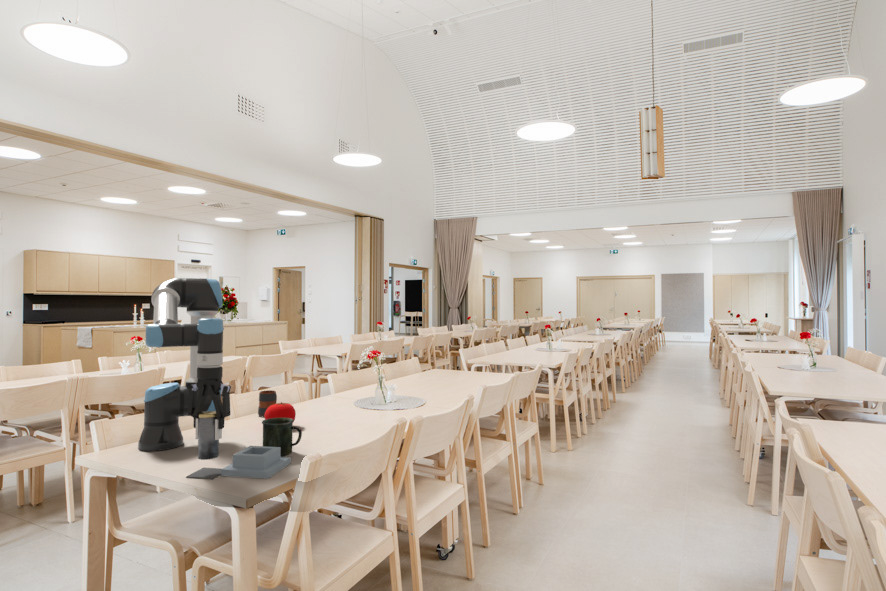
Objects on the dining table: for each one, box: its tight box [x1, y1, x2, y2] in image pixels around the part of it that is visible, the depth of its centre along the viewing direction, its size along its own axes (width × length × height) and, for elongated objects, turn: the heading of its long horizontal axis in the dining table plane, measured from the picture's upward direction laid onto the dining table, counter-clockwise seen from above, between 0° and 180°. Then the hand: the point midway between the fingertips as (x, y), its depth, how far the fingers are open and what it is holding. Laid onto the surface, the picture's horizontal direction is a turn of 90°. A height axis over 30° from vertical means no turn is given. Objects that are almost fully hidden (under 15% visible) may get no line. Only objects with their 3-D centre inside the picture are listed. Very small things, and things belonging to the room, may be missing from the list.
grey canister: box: [197, 411, 220, 461], centre depth 164 cm, size 6×6×14 cm
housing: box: [220, 445, 292, 480], centre depth 169 cm, size 16×16×6 cm
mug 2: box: [257, 389, 278, 417], centre depth 252 cm, size 9×12×12 cm
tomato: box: [263, 401, 296, 421], centre depth 227 cm, size 12×13×11 cm
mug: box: [261, 418, 303, 457], centre depth 187 cm, size 11×15×12 cm
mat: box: [185, 467, 222, 480], centre depth 164 cm, size 9×9×1 cm
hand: (208, 438), depth 164 cm, fingers closed on grey canister, 6 cm apart
